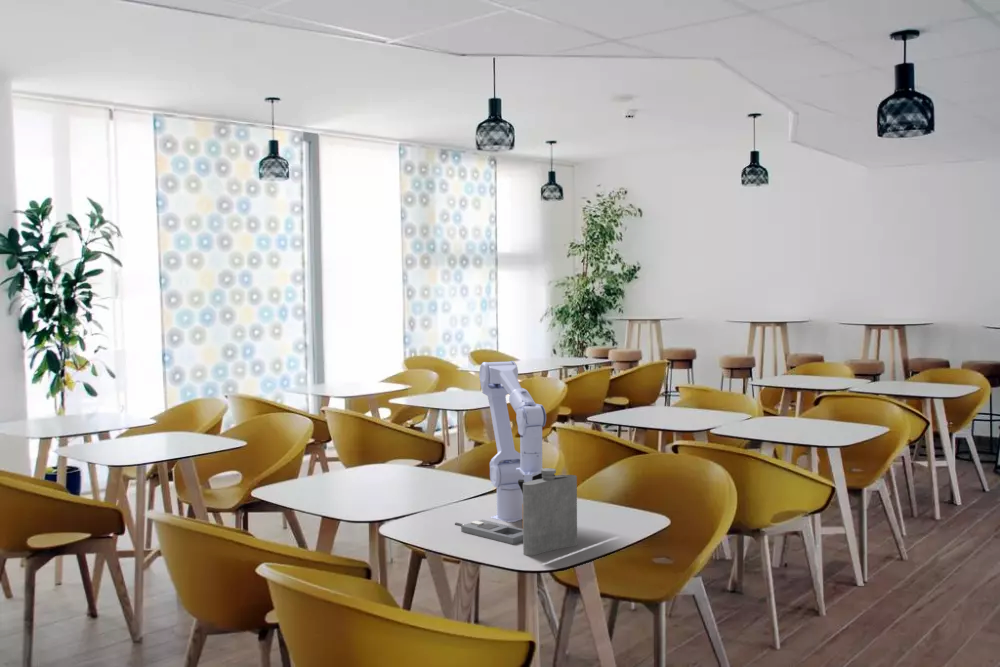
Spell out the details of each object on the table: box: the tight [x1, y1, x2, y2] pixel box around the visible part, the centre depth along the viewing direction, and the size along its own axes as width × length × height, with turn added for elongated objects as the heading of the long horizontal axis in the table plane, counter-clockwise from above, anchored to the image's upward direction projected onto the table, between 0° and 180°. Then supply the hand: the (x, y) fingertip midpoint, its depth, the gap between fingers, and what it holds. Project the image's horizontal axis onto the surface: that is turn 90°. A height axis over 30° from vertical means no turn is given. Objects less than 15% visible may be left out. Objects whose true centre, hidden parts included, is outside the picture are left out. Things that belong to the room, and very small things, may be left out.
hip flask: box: [522, 467, 578, 557], centre depth 217 cm, size 16×4×20 cm, turn 126°
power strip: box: [454, 519, 523, 545], centre depth 232 cm, size 8×24×2 cm, turn 47°
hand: (531, 503), depth 232 cm, fingers open, 7 cm apart
